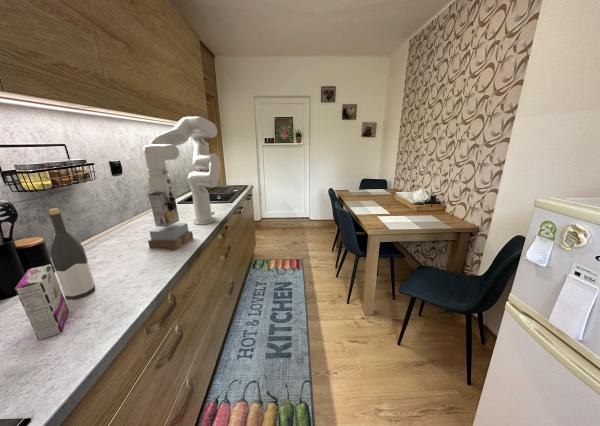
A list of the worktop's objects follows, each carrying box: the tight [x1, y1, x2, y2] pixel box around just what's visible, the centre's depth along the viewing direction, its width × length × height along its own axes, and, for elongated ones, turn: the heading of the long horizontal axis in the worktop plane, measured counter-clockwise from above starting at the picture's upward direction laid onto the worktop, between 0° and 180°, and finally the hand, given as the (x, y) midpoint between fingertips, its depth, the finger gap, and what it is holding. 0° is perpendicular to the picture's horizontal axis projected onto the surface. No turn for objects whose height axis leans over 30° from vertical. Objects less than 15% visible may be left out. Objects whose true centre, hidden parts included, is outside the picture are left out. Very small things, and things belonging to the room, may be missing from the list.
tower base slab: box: [147, 230, 194, 251], centre depth 121 cm, size 14×14×4 cm
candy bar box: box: [14, 263, 70, 341], centre depth 66 cm, size 11×5×16 cm, turn 35°
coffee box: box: [148, 193, 180, 228], centre depth 116 cm, size 9×6×16 cm
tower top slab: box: [149, 222, 189, 241], centre depth 120 cm, size 12×12×4 cm
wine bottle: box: [48, 207, 96, 301], centre depth 78 cm, size 8×8×30 cm
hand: (165, 209), depth 117 cm, fingers closed on coffee box, 6 cm apart
